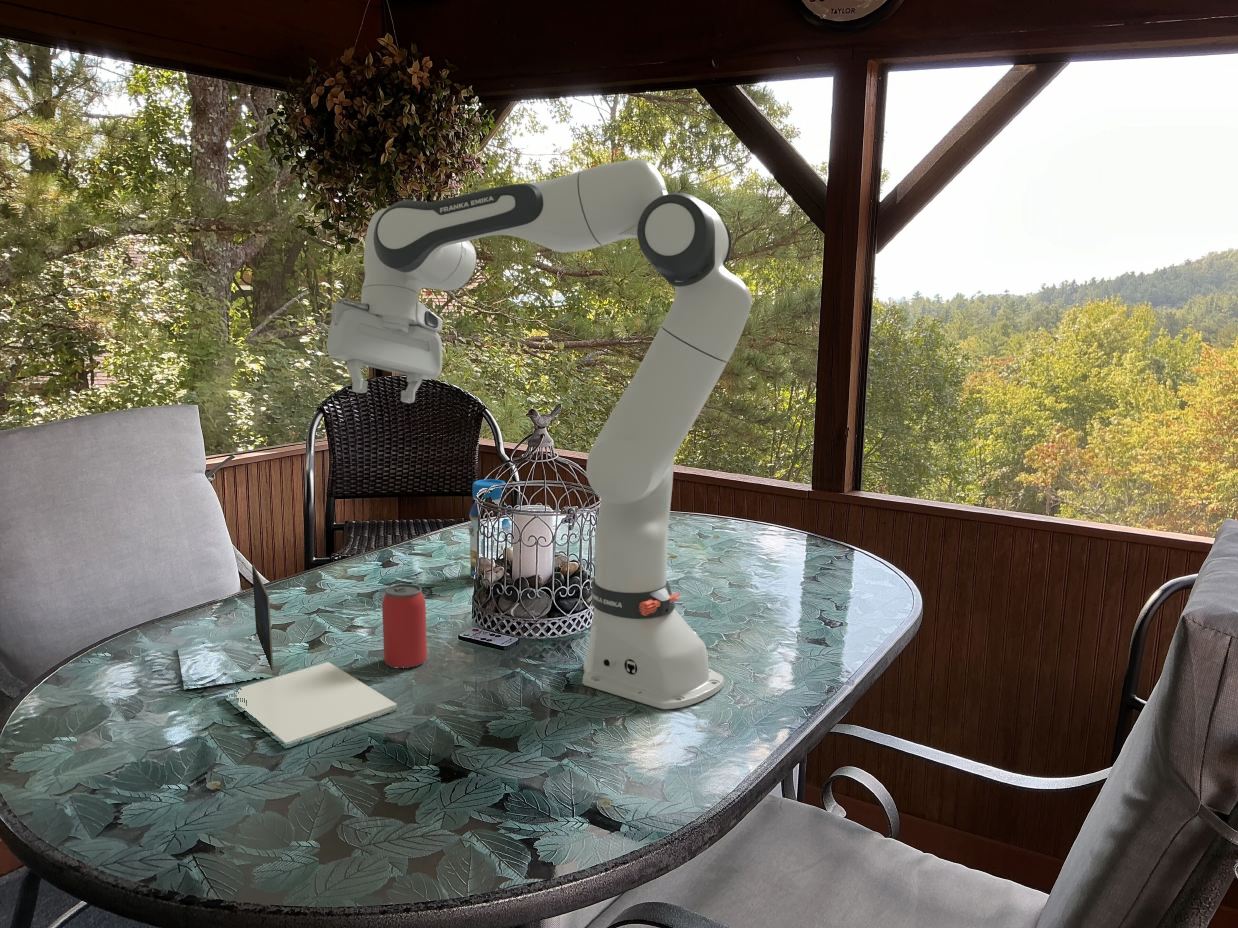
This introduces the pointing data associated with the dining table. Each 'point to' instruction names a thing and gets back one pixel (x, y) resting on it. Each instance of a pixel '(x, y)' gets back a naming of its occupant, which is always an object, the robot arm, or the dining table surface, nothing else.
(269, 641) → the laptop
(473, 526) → the beverage bottle
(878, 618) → the dining table surface
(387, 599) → the beer can
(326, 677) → the ceramic tile
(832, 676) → the dining table surface
